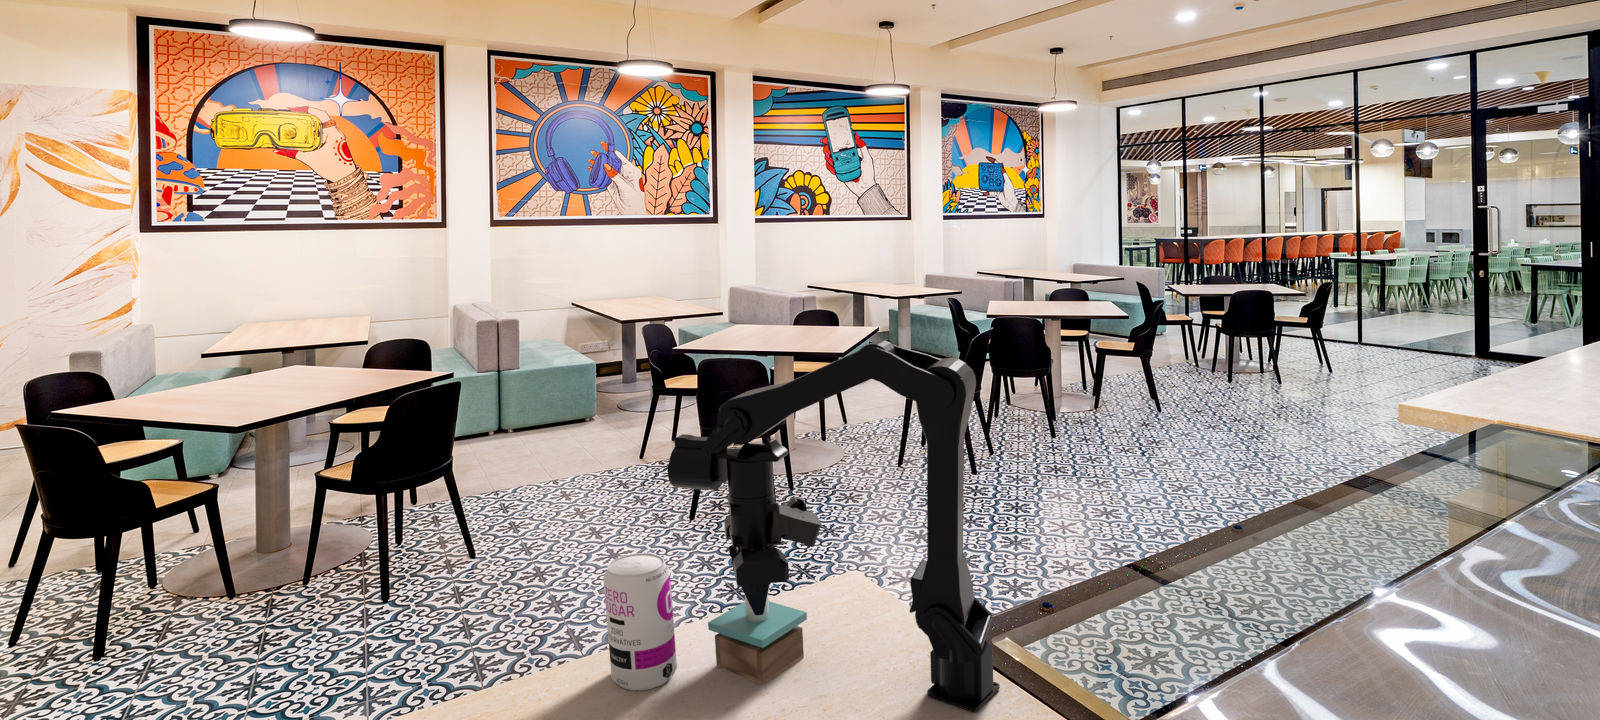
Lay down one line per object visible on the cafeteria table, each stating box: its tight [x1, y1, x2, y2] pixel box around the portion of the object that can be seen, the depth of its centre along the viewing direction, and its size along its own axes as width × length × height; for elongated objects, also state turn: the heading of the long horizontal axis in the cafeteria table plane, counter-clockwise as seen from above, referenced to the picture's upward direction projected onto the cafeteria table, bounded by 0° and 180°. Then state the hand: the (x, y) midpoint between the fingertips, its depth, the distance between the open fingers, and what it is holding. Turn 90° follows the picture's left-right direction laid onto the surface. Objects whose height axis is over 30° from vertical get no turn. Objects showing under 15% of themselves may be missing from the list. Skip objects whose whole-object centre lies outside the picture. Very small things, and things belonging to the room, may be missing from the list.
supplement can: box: [603, 552, 678, 691], centre depth 108 cm, size 8×8×15 cm
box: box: [714, 625, 805, 686], centre depth 111 cm, size 8×8×4 cm
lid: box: [707, 594, 808, 648], centre depth 110 cm, size 9×9×6 cm
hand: (757, 609), depth 110 cm, fingers closed on lid, 3 cm apart
